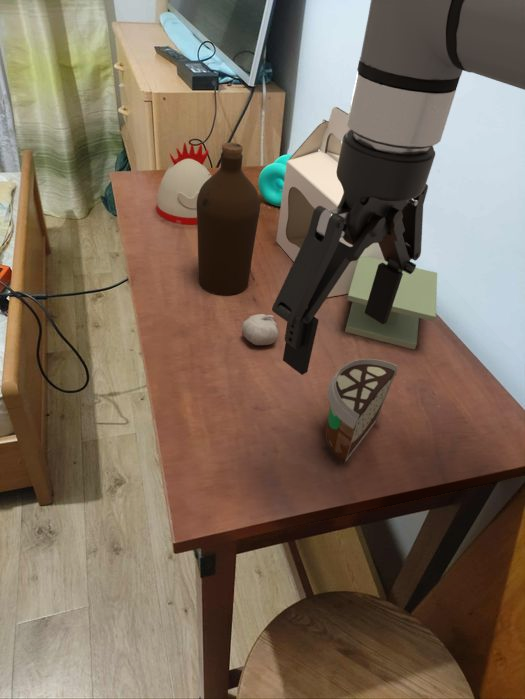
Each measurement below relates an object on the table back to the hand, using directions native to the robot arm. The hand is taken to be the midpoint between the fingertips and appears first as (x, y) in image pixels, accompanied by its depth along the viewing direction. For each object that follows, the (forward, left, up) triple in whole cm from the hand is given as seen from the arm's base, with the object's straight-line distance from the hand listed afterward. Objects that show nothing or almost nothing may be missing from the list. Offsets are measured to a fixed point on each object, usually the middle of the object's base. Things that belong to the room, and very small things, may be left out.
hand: (338, 340), depth 55 cm
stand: (-7, -33, -19) cm, 39 cm away
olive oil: (+23, -33, -19) cm, 45 cm away
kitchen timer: (+40, -57, -19) cm, 73 cm away
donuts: (+22, -73, -19) cm, 79 cm away
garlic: (+12, -19, -19) cm, 30 cm away
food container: (-4, -5, -19) cm, 20 cm away
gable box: (+6, -48, -19) cm, 52 cm away
